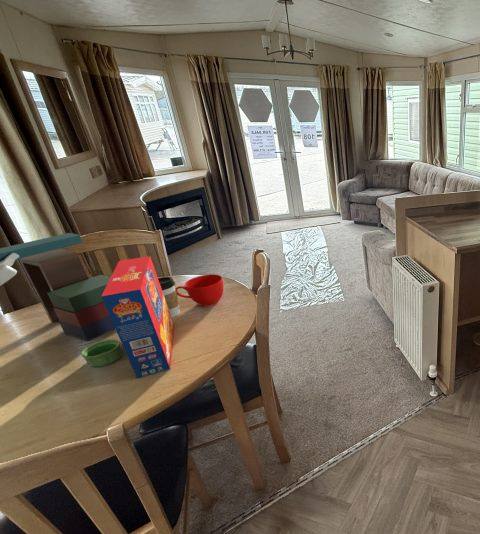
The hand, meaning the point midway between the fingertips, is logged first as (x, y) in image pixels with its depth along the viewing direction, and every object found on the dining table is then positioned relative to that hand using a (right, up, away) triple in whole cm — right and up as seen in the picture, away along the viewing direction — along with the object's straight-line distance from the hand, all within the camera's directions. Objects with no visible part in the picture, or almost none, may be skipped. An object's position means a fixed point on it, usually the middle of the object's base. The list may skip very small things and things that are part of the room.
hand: (8, 252), depth 109 cm
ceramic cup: (+41, -20, +32) cm, 56 cm away
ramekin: (+32, -35, -1) cm, 47 cm away
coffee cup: (+34, -24, +24) cm, 47 cm away
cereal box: (+45, -33, +4) cm, 55 cm away
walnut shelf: (+2, -24, +19) cm, 31 cm away
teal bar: (+2, +1, +6) cm, 7 cm away
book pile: (+15, -27, +16) cm, 34 cm away
